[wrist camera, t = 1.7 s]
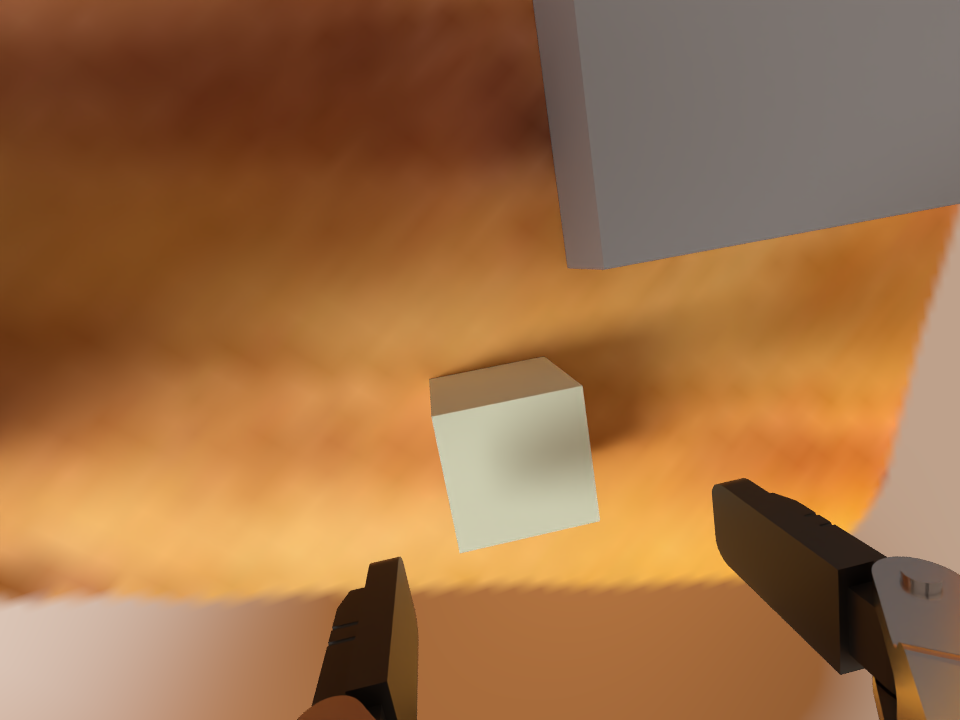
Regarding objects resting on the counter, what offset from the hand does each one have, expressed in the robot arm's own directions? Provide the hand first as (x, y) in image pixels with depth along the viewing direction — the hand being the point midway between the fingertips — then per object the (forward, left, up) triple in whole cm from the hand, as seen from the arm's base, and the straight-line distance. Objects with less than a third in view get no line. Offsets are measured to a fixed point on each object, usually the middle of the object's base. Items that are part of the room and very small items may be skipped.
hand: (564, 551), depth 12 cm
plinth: (-13, +11, -9) cm, 19 cm away
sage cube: (0, 0, -9) cm, 9 cm away
